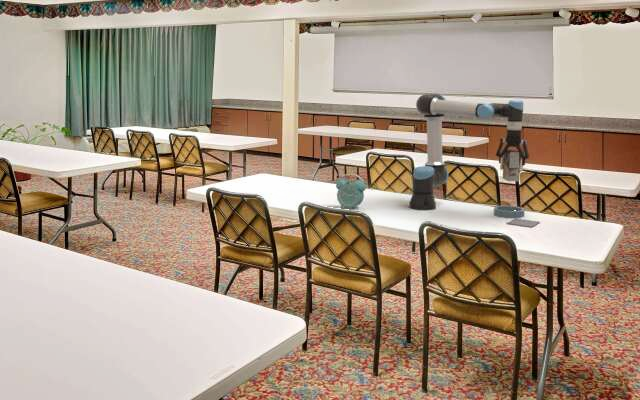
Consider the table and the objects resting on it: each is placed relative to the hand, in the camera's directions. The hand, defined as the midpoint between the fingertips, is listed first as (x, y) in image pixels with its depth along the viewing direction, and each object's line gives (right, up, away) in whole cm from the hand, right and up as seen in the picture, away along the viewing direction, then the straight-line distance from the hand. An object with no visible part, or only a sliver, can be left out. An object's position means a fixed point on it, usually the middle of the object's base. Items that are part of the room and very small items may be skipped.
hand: (511, 170), depth 334 cm
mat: (+2, -28, -15) cm, 32 cm away
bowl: (0, -24, +5) cm, 25 cm away
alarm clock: (-86, -21, +22) cm, 92 cm away
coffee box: (0, -5, +1) cm, 6 cm away
